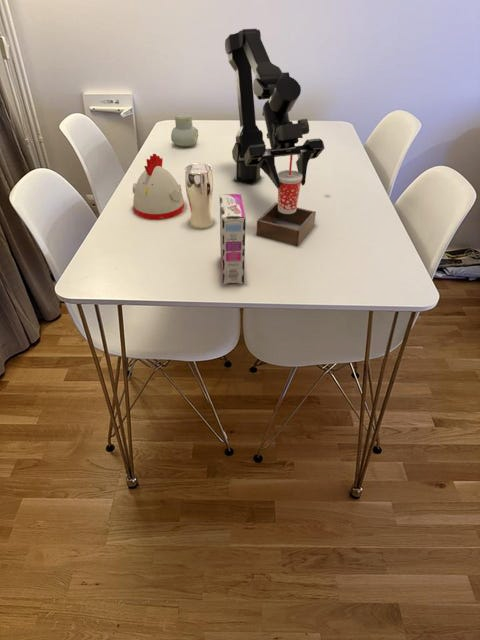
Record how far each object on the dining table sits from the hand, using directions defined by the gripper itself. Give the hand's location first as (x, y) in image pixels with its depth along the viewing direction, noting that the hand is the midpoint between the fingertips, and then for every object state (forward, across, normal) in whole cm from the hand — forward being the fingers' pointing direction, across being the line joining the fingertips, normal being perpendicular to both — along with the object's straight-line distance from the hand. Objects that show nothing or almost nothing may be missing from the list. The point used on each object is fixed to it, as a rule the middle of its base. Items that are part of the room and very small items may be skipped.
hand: (291, 186), depth 110 cm
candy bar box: (+18, -18, 0) cm, 26 cm away
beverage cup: (+4, 0, +6) cm, 7 cm away
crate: (+8, 0, +10) cm, 13 cm away
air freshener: (-40, -13, +60) cm, 73 cm away
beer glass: (+1, -20, +17) cm, 26 cm away
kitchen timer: (-7, -30, +26) cm, 40 cm away
